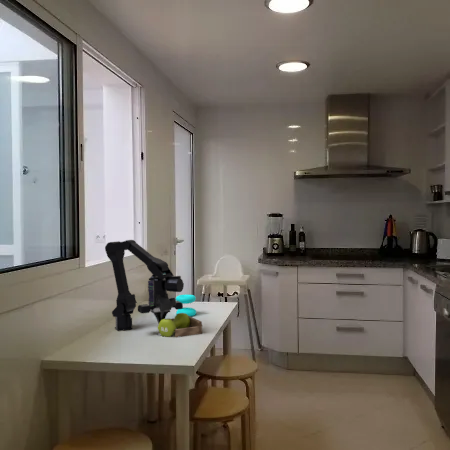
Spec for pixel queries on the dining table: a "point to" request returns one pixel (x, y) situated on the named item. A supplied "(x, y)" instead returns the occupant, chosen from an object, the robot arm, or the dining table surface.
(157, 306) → the robot arm
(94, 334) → the dining table surface
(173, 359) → the dining table surface
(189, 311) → the donuts
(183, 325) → the dumbbell
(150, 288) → the storage jar
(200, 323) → the walnut corral
